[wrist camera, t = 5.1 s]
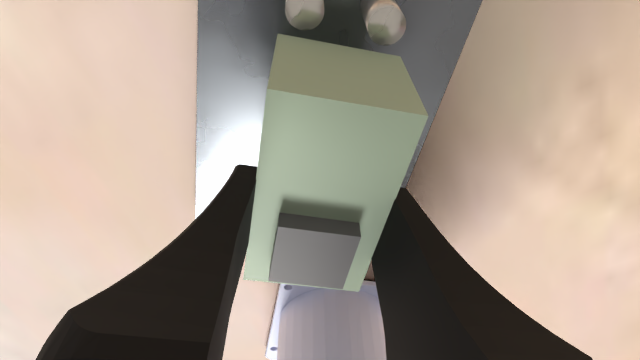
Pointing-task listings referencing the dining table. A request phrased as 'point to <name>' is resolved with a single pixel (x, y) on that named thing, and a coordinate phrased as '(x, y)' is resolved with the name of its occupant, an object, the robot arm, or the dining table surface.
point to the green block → (329, 162)
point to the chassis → (315, 24)
